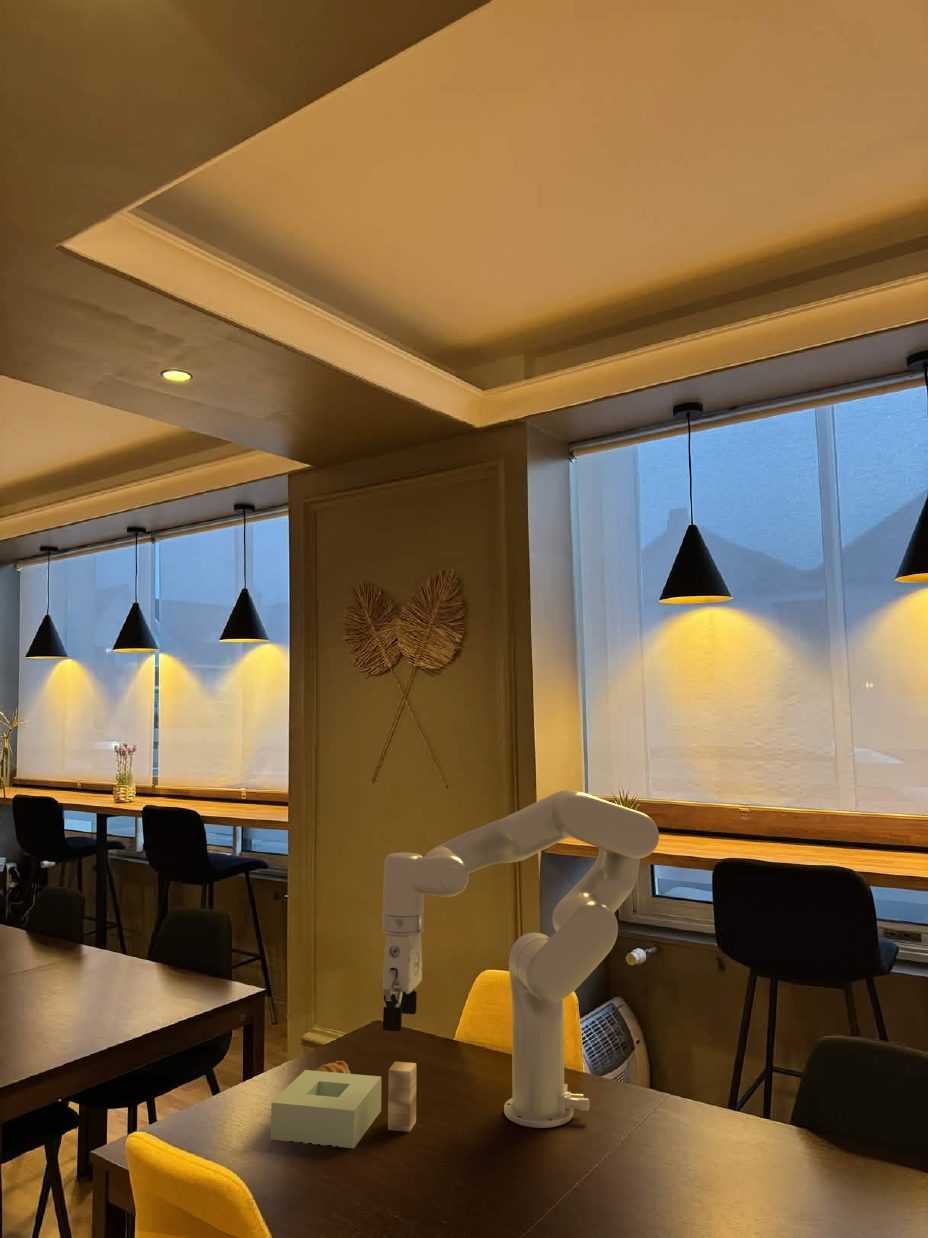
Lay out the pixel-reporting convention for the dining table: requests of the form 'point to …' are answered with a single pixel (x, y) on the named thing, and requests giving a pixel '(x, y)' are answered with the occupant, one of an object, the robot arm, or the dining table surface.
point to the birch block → (402, 1096)
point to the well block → (326, 1108)
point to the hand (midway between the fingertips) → (400, 1021)
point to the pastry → (335, 1067)
